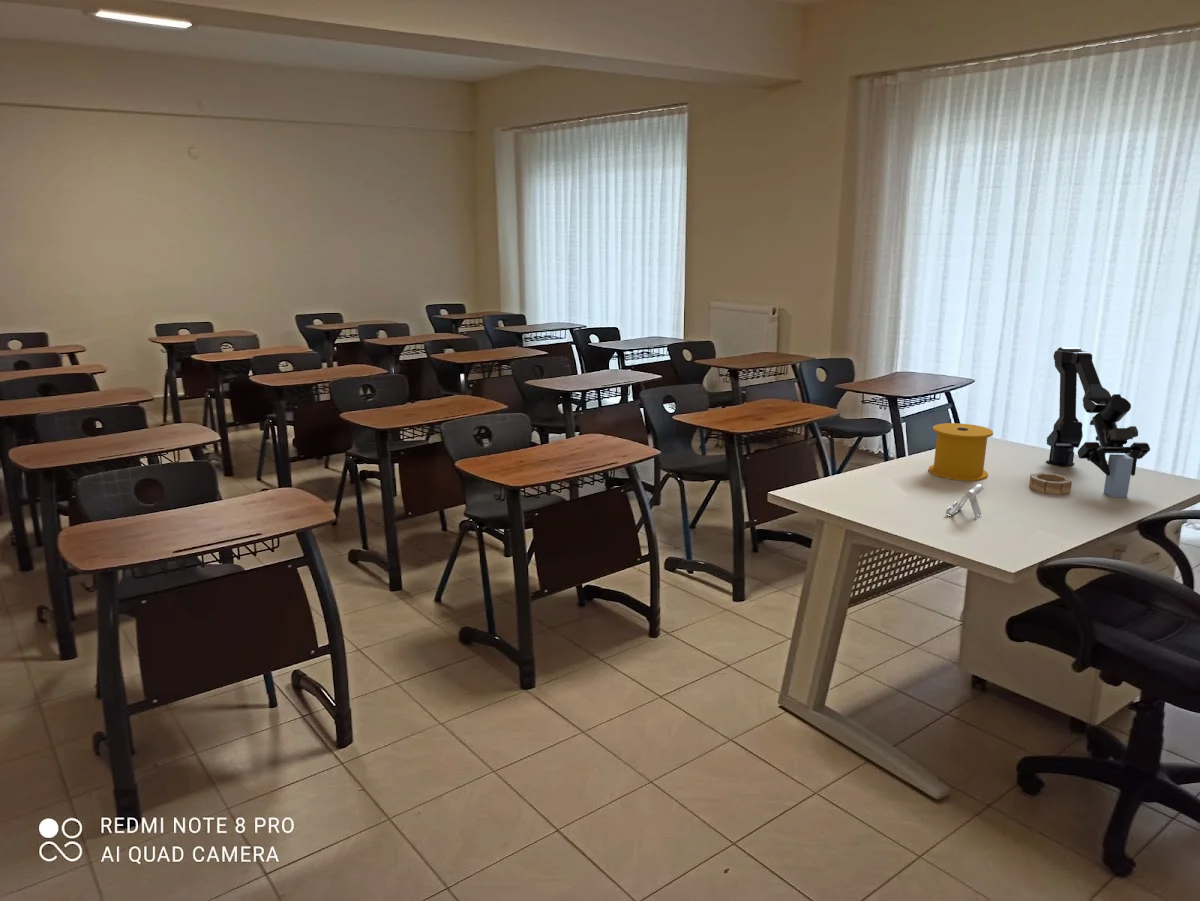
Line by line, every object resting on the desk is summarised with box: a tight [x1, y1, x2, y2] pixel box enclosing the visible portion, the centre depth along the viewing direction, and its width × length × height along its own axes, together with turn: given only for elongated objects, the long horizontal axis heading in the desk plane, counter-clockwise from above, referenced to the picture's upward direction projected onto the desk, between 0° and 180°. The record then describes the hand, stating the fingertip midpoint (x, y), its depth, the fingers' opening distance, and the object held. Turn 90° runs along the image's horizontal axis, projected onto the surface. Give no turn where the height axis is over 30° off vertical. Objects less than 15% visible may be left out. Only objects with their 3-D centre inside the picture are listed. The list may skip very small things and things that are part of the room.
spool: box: [928, 422, 994, 482], centre depth 274 cm, size 18×18×15 cm
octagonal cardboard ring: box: [1028, 472, 1073, 496], centre depth 259 cm, size 11×11×4 cm
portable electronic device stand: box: [945, 483, 984, 519], centre depth 235 cm, size 9×8×8 cm
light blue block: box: [1103, 453, 1133, 498], centre depth 252 cm, size 4×4×12 cm
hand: (1121, 475), depth 251 cm, fingers open, 7 cm apart
